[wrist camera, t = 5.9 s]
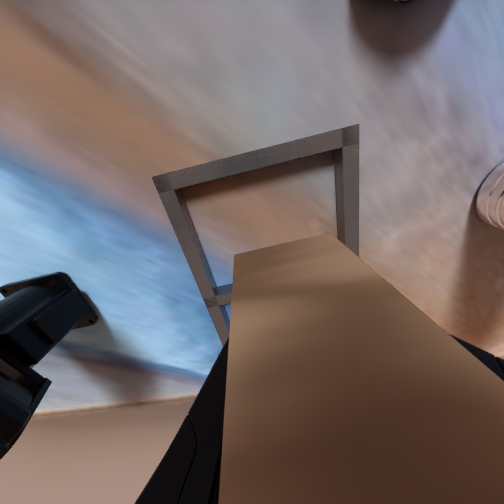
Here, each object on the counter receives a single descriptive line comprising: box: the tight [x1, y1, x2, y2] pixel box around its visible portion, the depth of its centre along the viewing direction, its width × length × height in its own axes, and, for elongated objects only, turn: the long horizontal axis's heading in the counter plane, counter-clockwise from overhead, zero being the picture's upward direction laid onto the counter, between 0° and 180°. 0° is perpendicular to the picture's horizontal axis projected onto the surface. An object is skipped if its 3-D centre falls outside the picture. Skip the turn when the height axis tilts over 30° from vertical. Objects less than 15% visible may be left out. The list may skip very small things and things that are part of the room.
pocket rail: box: [152, 124, 359, 346], centre depth 20 cm, size 15×24×2 cm, turn 13°
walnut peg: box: [219, 233, 504, 504], centre depth 7 cm, size 4×4×8 cm
